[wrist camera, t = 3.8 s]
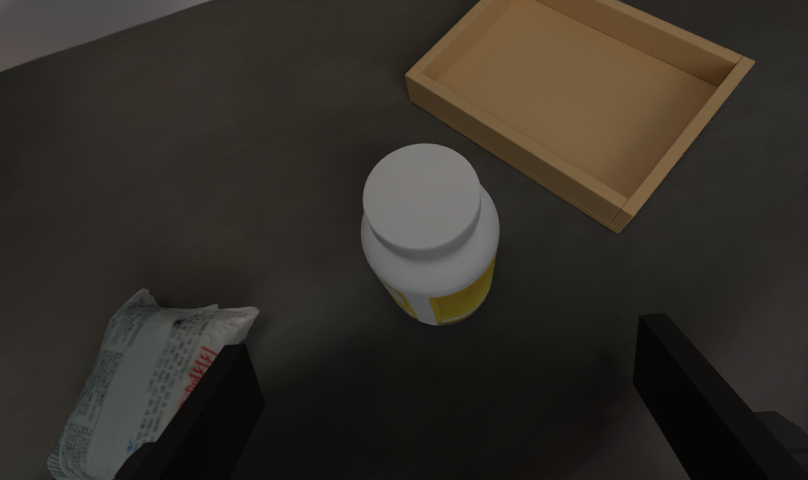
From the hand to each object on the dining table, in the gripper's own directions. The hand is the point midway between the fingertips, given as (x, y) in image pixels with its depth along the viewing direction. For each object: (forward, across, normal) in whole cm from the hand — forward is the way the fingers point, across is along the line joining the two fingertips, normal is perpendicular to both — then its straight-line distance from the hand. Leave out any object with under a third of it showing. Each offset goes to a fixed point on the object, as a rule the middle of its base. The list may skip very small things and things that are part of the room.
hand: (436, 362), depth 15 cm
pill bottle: (+13, 0, -4) cm, 13 cm away
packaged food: (+8, -16, -8) cm, 20 cm away
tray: (+22, +10, +6) cm, 24 cm away
